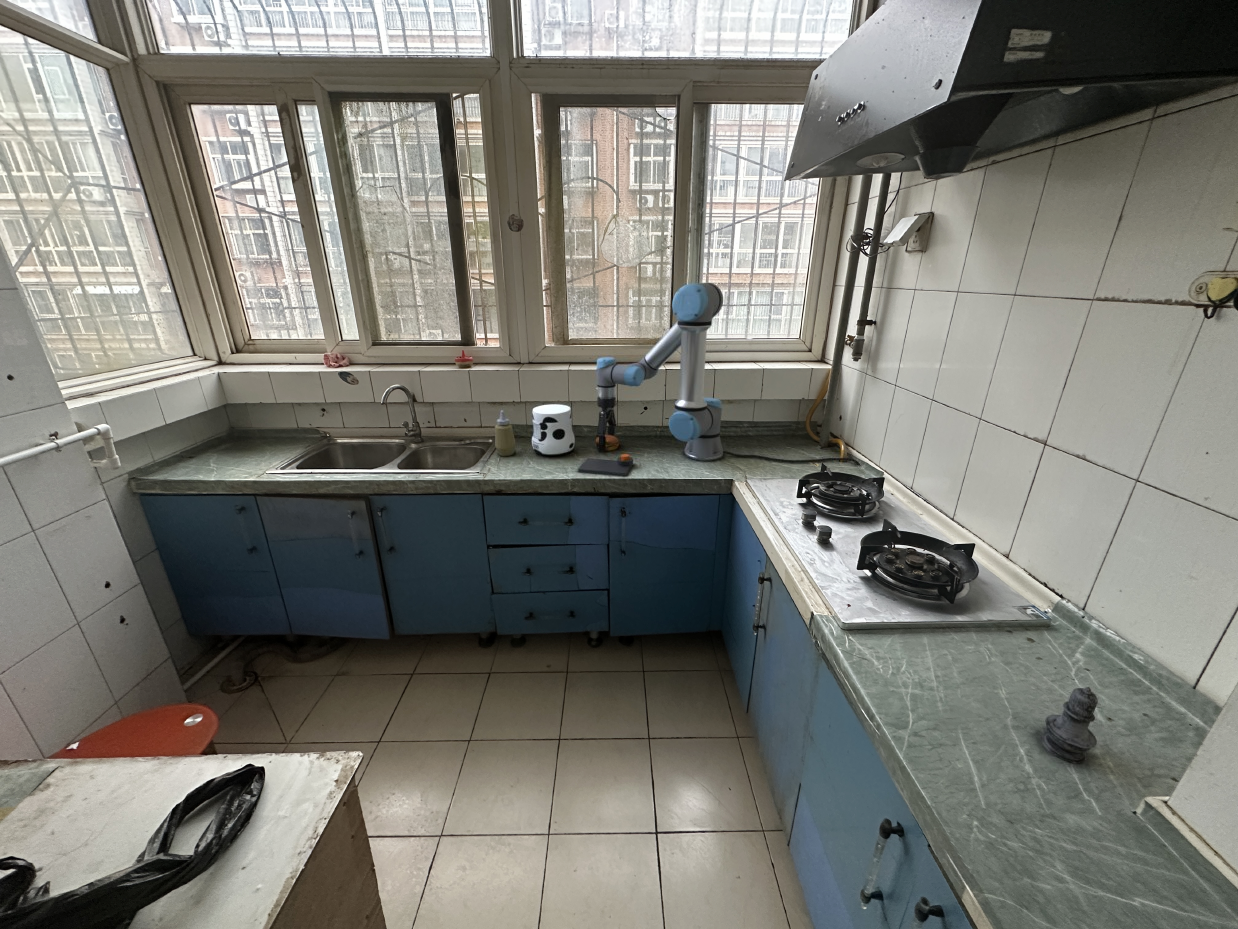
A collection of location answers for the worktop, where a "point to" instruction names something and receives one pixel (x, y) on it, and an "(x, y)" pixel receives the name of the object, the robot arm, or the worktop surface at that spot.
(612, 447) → the burger
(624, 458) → the tare button
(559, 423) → the milk container
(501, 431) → the squeeze bottle
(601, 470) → the scale
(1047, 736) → the dark grey chess piece
